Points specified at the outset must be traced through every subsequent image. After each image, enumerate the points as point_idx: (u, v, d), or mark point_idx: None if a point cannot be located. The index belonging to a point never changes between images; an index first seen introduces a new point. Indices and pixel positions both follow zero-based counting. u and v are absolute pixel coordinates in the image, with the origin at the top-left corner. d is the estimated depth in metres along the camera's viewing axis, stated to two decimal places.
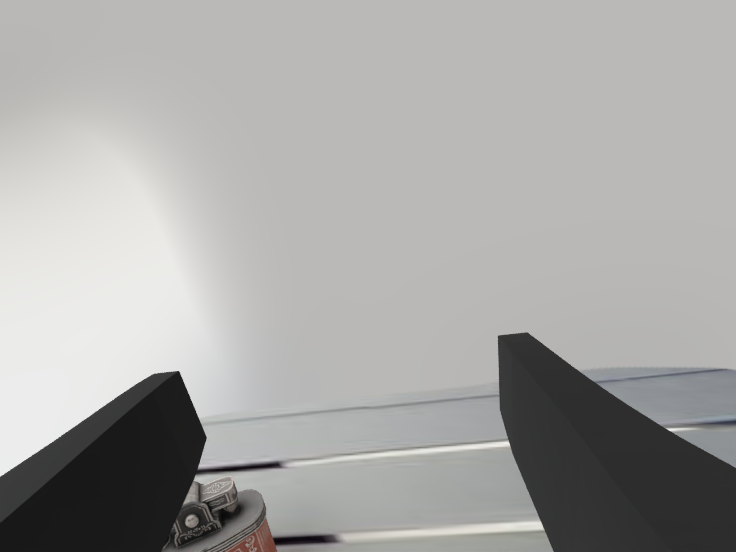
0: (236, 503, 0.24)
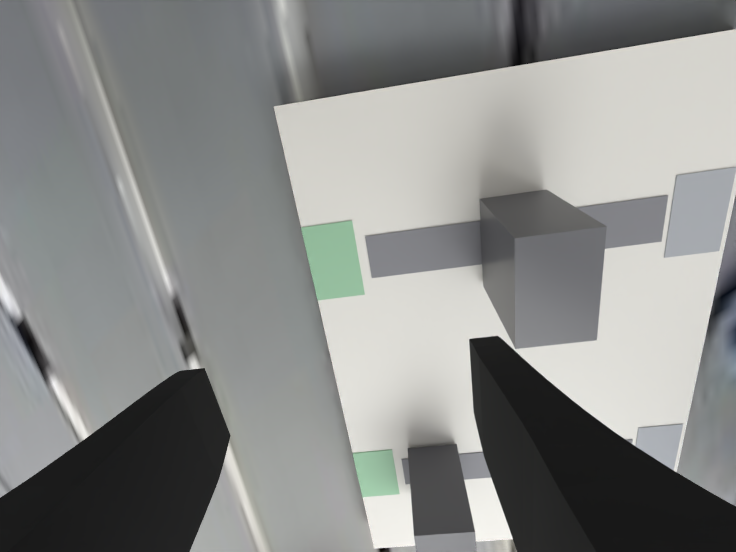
0: None
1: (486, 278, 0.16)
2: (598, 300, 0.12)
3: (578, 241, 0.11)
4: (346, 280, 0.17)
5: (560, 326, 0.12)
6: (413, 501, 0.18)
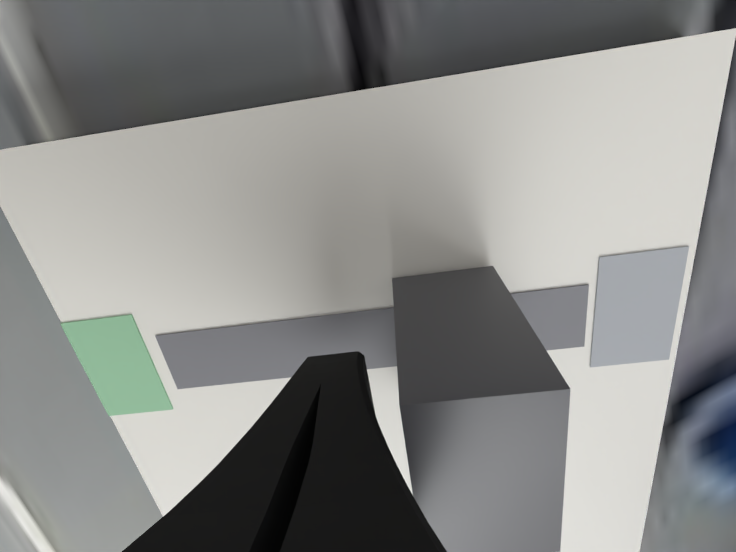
0: None
1: None
2: (560, 494, 0.07)
3: (518, 411, 0.06)
4: (144, 390, 0.12)
5: (496, 532, 0.07)
6: None
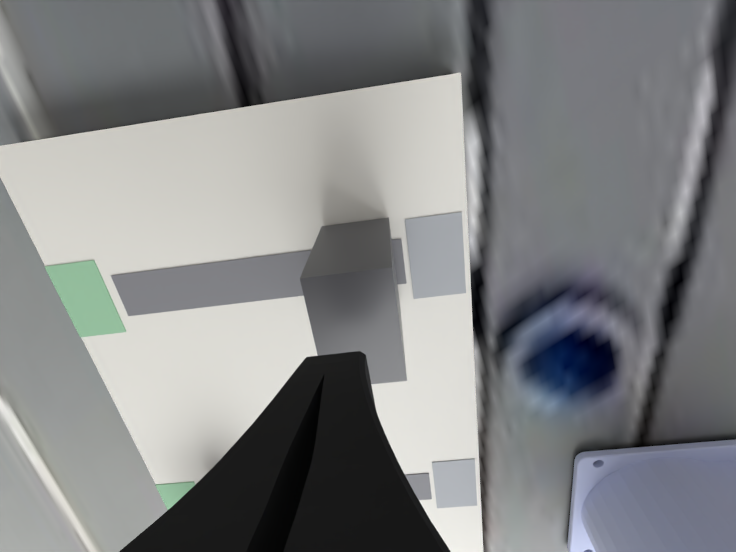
0: None
1: None
2: (401, 340, 0.12)
3: (366, 282, 0.11)
4: (105, 318, 0.17)
5: None
6: None
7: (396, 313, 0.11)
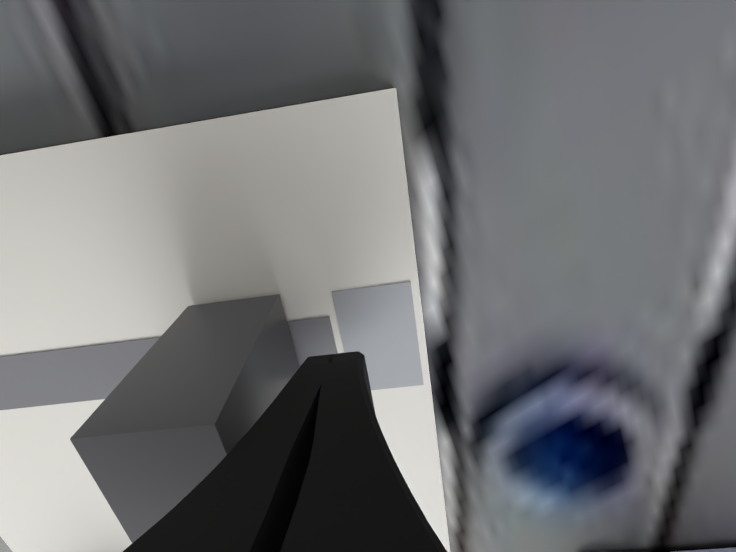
0: None
1: None
2: None
3: (178, 444, 0.07)
4: None
5: None
6: None
7: None
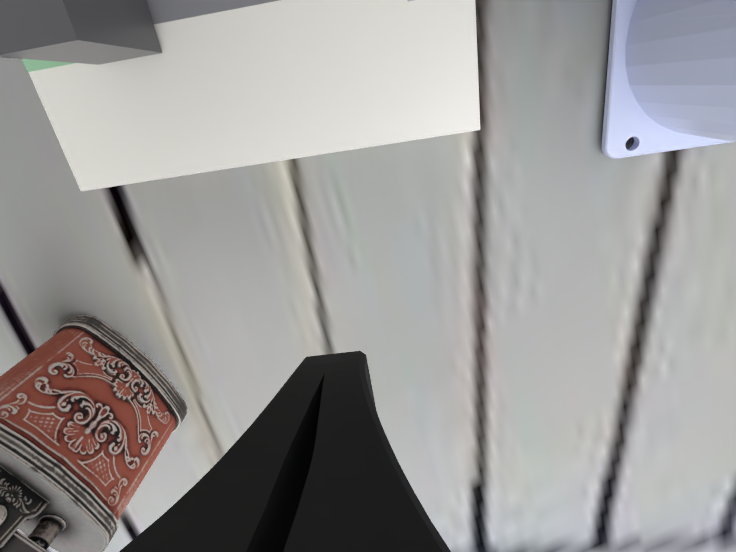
0: None
1: None
2: None
3: None
4: None
5: None
6: None
7: None
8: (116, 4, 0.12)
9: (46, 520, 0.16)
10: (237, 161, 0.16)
